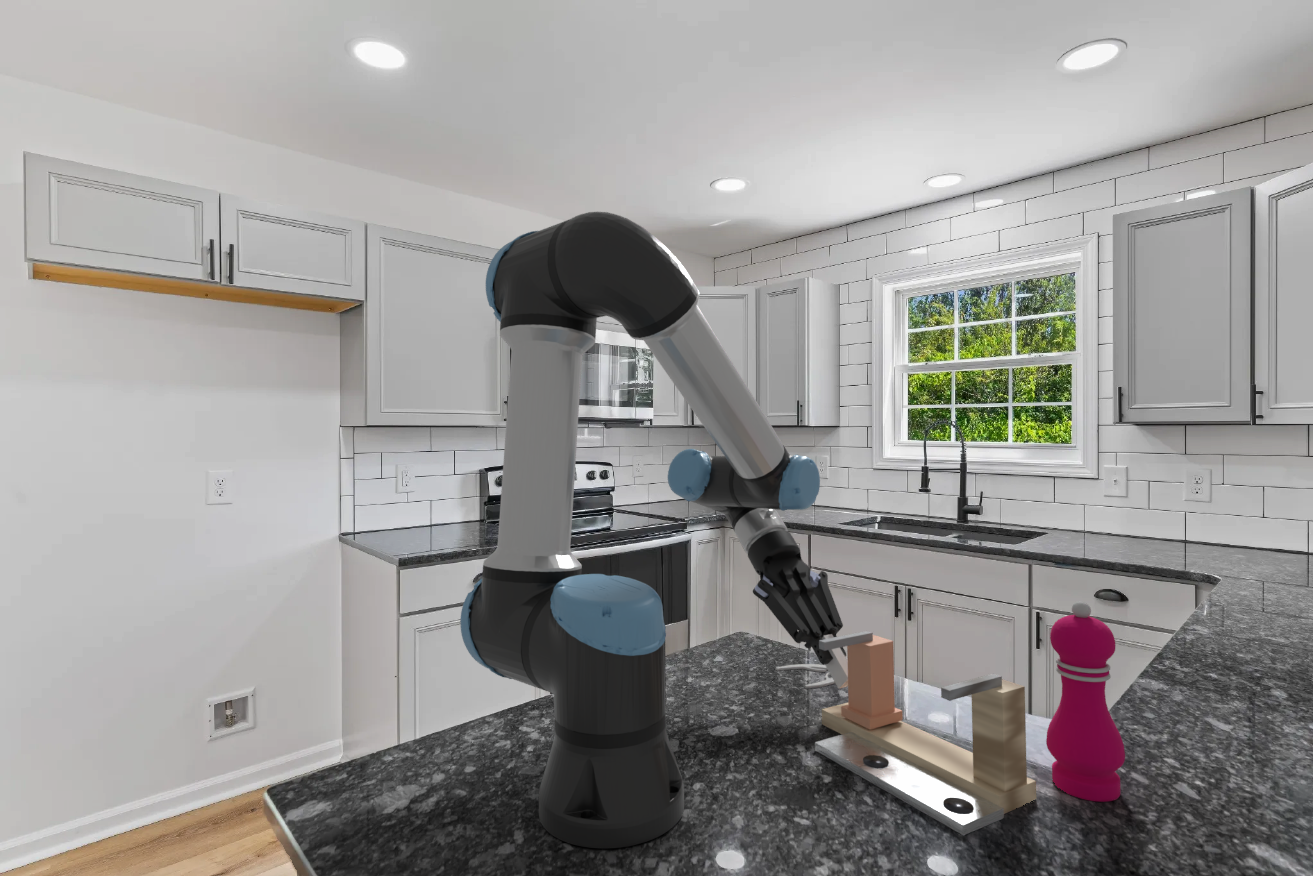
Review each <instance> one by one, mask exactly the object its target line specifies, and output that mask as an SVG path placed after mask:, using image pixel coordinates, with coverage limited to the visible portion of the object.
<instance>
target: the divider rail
mask: <svg viewBox="0 0 1313 876" xmlns="http://www.w3.org/2000/svg"><path fill="white" fill-rule="evenodd" d="M940 691H941V692H940V693H941V694H940V696H941V697H940V698H941V699H944V700H947V701H949V702H950V701H953V700H958V699H961V698H964V697H968V696H971V724H972V725H971V728H972V731H971V732H972V737H971V738H972V751H970V750H967V749H965V748H963V747H961V746H959V745H956V744H954V743H952V742H949V741H947V740H945V739H942V738H941V737H938V736H936V735H933V734H931V733H930V732H929V733H928V732H927V731H924V730H922V729H920V728H917V727H915V726H913V725H911V724H909V723H906V722H904V721H903V720H901V721H898V722H895V723H891V724H888V725H884V726H881V727H877V728H874V729H871V730H870V729H868V728H866V727H864V726H862V725H860V724H857V723H855V722H853V721H851V720H849V719H847V718H845V717H843V716H841V706H845V705H848V702H844V703H842V704H838V705H833V706H830V707H829V706H828V707H825V708H821V725H823V726H825V727H826V728H828V729H830V730H832V731H834V732H836V733H838V734H840V735H842V734H845V733H849V732H853V733H855V734H857V735H859V736H861V737H863V738H865V739H867V740H869V741H871V742H873V743H875V744H877V745H879V746H881V747H883V748H885V749H887V750H889V751H891V752H893V753H895V754H897V755H899V756H901V757H903V758H905V759H907V760H909V761H911V762H913V763H915V764H917V765H919V766H921V767H923V768H925V769H927V770H929V771H931V772H933V773H935V774H937V775H939V776H941V777H943V778H945V779H947V780H949V781H950V782H952V783H954V784H956V785H958V786H960V787H962V788H964V789H966V790H968V791H970V792H972V793H974V794H976V795H978V796H980V797H982V798H984V799H986V800H988V801H990V802H992V803H994V804H996V805H998V806H1000V807H1002V808H1004V815H1005V814H1007V813H1010V812H1011V811H1014V810H1017V809H1019V808H1021V807H1024V806H1025V804H1026V803H1029V804H1031V803H1032V802H1031V801H1033V800H1035V799H1036V800H1037V780H1034V779H1032V778H1030V777H1028V774H1027V773H1028V772H1027V771H1028V769H1027V764H1028V763H1027V736H1026V735H1027V730H1026V725H1027V724H1026V687H1025V685H1021V684H1018V683H1016V682H1012V681H1009V680H1005V679H1004V678H1003V676H1002V675H999V674H995V673H990V674H989V673H988V674H986V675H983V676H980V677H979V676H978V677H975V678H971V679H968V680H964V681H960V682H957V683H952V684H950V685H949V684H948V685H946V686H942V687H940ZM1030 802H1031V803H1030ZM1033 802H1034V801H1033ZM1023 805H1024V806H1023ZM1026 805H1027V804H1026ZM1016 808H1017V809H1016Z"/></svg>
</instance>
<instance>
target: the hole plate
mask: <svg viewBox="0 0 1313 876" xmlns="http://www.w3.org/2000/svg"><path fill="white" fill-rule="evenodd" d="M814 751H815V752H817V753H819V754H821V755H822V756H824V757H826V758H827V759H830V760H831V761H833V762H834V763H836V764H838V765H839V766H841V767H843V768H845V769H846V770H848V771H851V772H852V773H853V774H855V775H858V776H859V777H861V778H862V779H864V780H866V781H867V782H869V783H871V784H873V785H874V786H876V787H877V788H880V789H881V790H883V791H885V792H887V793H888V794H890V795H892V796H894V797H895V798H897V799H899V800H900V801H902V802H904V803H906V804H907V805H909V806H911V807H912V808H914V809H917V810H918V811H920V812H921V813H923V814H925V815H927V816H928V817H930V818H932V819H934V820H935V821H937V822H939V823H941V824H943V825H944V826H946V827H947V828H949V829H952V830H953V831H954V832H956V833H958V834H960V835H961V836H966V835H968V834H970V833H972V832H974V831H977V830H980V829H982V828H984V827H987V826H989V825H991V824H993V823H996V822H999V821H1000V820H1001V821H1002V820H1003V819H1004V818H1005V814H1004V808H1002V807H1000V806H998V805H996V804H994V803H992V802H990V801H988V800H986V799H984V798H982V797H980V796H978V795H976V794H974V793H972V792H970V791H968V790H966V789H964V788H962V787H960V786H958V785H956V784H954V783H952V782H950V781H949V780H947V779H945V778H943V777H941V776H939V775H937V774H935V773H933V772H931V771H929V770H927V769H925V768H923V767H921V766H919V765H917V764H915V763H913V762H911V761H909V760H907V759H905V758H903V757H901V756H899V755H897V754H895V753H893V752H891V751H889V750H887V749H885V748H883V747H881V746H879V745H877V744H875V743H873V742H871V741H869V740H867V739H865V738H863V737H861V736H859V735H857V734H855V733H853V732H849V733H845V734H840V735H834V736H832V737H828V738H824V739H821V740H818V741H815V742H814Z"/></svg>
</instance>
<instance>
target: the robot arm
mask: <svg viewBox="0 0 1313 876" xmlns="http://www.w3.org/2000/svg"><path fill="white" fill-rule="evenodd" d="M485 293H486V299H487V302H488V305H489V307H492V309H493V311H494V312H493V315H494V316H495V318H496V319H497V321H499V322H500V325H499V326H500V328H499V336H500V337H501V338H502V340H503V341H504V342H505V343H506V345H508V346H509V349H510V350H511V352H510V365H509V378H508V379H509V381H508V395H507V396H508V397H507V411H506V423H505V437H504V452H503V463H502V464H503V466H502V480H501V481H502V482H501V490H500V491H501V492H500V493H501V494H500V507H499V519H498V533H497V534H498V535H497V546H496V549H495V550H494V552H492V553H491V554H489V556H487V558H485V559H484V560H483V564H482V573H481V574H482V575H481V576H482V577H481V578H480V579H479V580H478V581H477V582H476V583H474V585H473V589H472V590H471V591H470V592H468V593H467V595H466V597H465V599H464V601H463V604H462V607H461V612H460V623H459V624H460V634H461V637H462V641H463V644H464V647H465V648H466V650H467V652H468V653H469V655H470V656H471V657H472V658H473V660H474V661H475V662H477V663H478V664H479V665H481V666H483V667H484V668H486V669H488V670H489V671H490V672H491V673H494V674H495V675H496V676H499V677H501V678H507V679H509V680H514V681H517V682H519V683H523V684H525V685H529V686H531V687H534V688H537V689H540V690H543V691H545V692H548V693H551V694H553V707H554V708H553V709H554V710H553V713H554V715H553V716H554V737H553V741H552V744H551V749H550V751H549V755H548V758H547V761H546V765H545V769H544V773H543V775H542V780H541V782H540V785H539V790H538V818H539V821H540V824H541V825H542V827H543V828H544V830H546V832H547V833H549V835H552V836H553V837H554V838H556V839H557V840H560V841H562V842H565V843H568V844H571V845H575V846H579V847H582V848H592V849H618V848H626V847H632V846H635V845H640V844H643V843H646V842H649V841H651V840H655V839H656V838H658V837H661V836H662V835H664V834H666V833H667V832H669V831H670V830H671V829H673V828H674V827H675V826H676V825H677V824H678V823H679V821H681V820H680V819H681V818H682V816H683V815H684V811H685V785H684V781H683V777H682V773H681V771H680V768H679V765H678V761H677V760H676V759H677V758H676V756H675V753H674V750H673V747H672V745H671V742H670V738H669V735H668V733H667V724H666V723H667V722H666V721H667V720H666V719H667V718H666V716H667V715H666V709H667V707H666V705H667V703H666V699H667V697H666V693H667V692H666V689H667V688H666V687H667V686H666V685H667V684H666V679H667V678H666V636H667V632H666V624H665V621H664V619H665V618H664V610H663V609H664V607H663V603H662V598H661V597H660V595H659V594H658V593H657V591H656V590H655V589H654V588H653V587H651V586H650V585H648V583H645V582H643V581H640V580H637V579H634V578H631V577H627V576H626V577H625V576H621V575H606V574H603V573H589V574H587V573H585V574H582V569H583V568H582V566H583V564H582V563H580V561H579V560H578V559H577V558H576V556H575V555H574V554H573V553H572V550H571V543H572V542H571V541H572V540H571V539H572V524H573V509H574V508H573V507H574V491H575V479H576V478H575V477H576V476H575V474H576V473H575V472H576V461H577V460H576V459H577V444H578V443H577V442H578V431H579V430H578V428H579V427H578V426H579V425H578V424H579V411H580V409H579V408H580V395H581V382H582V381H581V380H582V362H583V361H582V360H583V356H584V354H586V352H588V351H589V350H590V349H591V348H592V347H594V345H595V344H596V340H597V339H596V336H597V335H596V334H597V321H598V319H599V318H601V317H602V318H603V317H609V318H611V319H614V320H615V321H617V322H618V323H620V324H621V325H622V327H623V328H624V330H625V331H626V333H627V334H628V335H629V337H630V338H631V339H633V340H636V341H638V340H639V341H644V344H645V345H646V346H647V347H648V348H649V350H650V352H651V353H652V354H653V355H654V358H655V359H656V360H657V361H658V363H659V365H660V366H661V367H662V369H663V370H664V372H665V373H666V375H667V376H668V378H669V379H670V380H671V382H672V383H673V385H674V386H675V387H676V389H677V390H678V391H679V393H680V395H681V396H682V397H683V398H684V400H685V401H686V403H687V405H688V406H689V408H690V409H691V410H692V411H693V413H694V414H695V416H696V417H697V418H698V420H699V421H700V423H701V424H702V426H703V427H704V428H705V430H706V431H707V433H708V434H709V436H710V438H712V440H713V442H714V443H715V444H716V445H717V447H718V448H719V450H720V452H721V453H722V454H723V455H710V454H708V453H707V452H705V451H704V450H698V449H695V448H686V449H683V450H682V451H680V452H678V454H676V455H675V456H674V457H673V459H672V460H671V462H670V464H669V467H668V471H667V483H668V487H669V488H670V490H671V491H672V493H674V494H675V495H676V496H678V497H680V498H682V499H684V500H685V501H687V502H692V503H695V504H697V505H699V506H702V507H705V508H708V509H710V510H713V511H716V512H718V513H721V514H723V515H724V516H725V518H726V519H727V520H728V522H729V525H730V526H731V528H732V529H733V532H734V533H735V535H736V537H737V539H738V541H739V543H740V545H741V547H742V549H743V551H744V552H745V553H746V555H747V557H748V560H749V561H750V563H751V566H752V567H753V569H754V571H755V573H756V574H757V575H759V578H760V580H759V581H758V582H757V584H756V585H755V587H754V588H753V590H752V593H753V595H754V596H755V597H757V598H758V599H759V600H760V601H762V603H763V602H764V604H765V605H766V607H767V608H768V610H770V612H771V613H772V615H774V617H775V618H776V619H777V620H778V622H779V623H780V625H782V627H783V628H784V629H785V631H786V632H787V633H788V634H789V636H790V637H791V638H792V639H793V640H794V642H795V643H797V644H802V643H804V645H803V646H804V647H805V649H811V648H812V650H813V652H814V653H815V656H816V657H817V659H818V661H819V663H821V665H826V667H827V669H828V670H827V671H828V672H829V673H830V674H831V675H830V676H831V677H832V678H833V680H834V682H835V683H834V684H835V685H836V687H837V689H843V688H848V661H847V651H846V650H845V648H844V647H840V648H835V649H830V650H826V651H824V650H822V649H819V640H824V639H829V638H834V637H838V636H837V634H838V633H839V631H841V629H842V628H843V627H844V624H843V620H842V618H841V616H840V613H839V610H838V608H837V604H836V602H835V601H834V597H833V595H832V591H831V590H830V587H829V585H828V583H829V582H828V580H829V577H828V576H829V575H828V573H827V572H826V571H824V570H821V571H820V572H819V573H817V572H815V571H812V570H811V568H810V566H809V565H808V564H807V563H806V562H804V560H803V559H802V555H801V549H800V547H799V545H798V543H797V542H796V540H795V538H794V537H793V535H792V533H791V532H789V530H788V527H787V526H786V523H785V522H784V521H783V518H782V517H781V516H780V514H779V512H778V511H779V510H781V511H783V512H784V511H787V510H788V511H789V510H790V511H791V510H792V511H793V510H795V511H799V510H800V511H801V510H802V511H803V510H806V509H807V510H808V508H810V507H812V506H813V504H814V503H815V502H816V500H817V496H818V495H819V492H820V487H821V486H820V485H821V478H820V477H821V476H820V471H819V468H818V465H817V464H816V462H815V461H814V459H812V458H810V457H809V456H805V455H799V454H793V455H791V454H790V453H789V451H788V450H787V449H786V447H785V445H784V444H783V442H782V440H781V439H780V437H779V436H778V434H777V432H776V431H775V429H774V428H773V426H772V424H771V423H770V421H769V419H768V418H767V415H766V414H765V413H764V412H763V410H762V408H761V407H760V405H759V403H758V402H757V400H756V399H755V396H754V395H753V394H752V392H751V391H750V388H749V387H748V385H747V383H746V382H745V381H744V379H743V377H742V375H741V374H740V372H739V371H738V369H737V367H736V366H735V365H734V362H733V361H732V359H731V358H730V356H729V355H728V352H727V351H726V350H725V348H724V346H723V345H722V343H721V341H720V339H719V338H718V337H717V335H716V333H715V332H714V330H713V329H712V327H711V325H710V324H709V322H708V319H706V317H705V315H704V314H703V312H702V311H701V309H700V307H699V305H698V302H699V299H700V291H699V289H698V287H697V285H696V284H695V282H694V280H693V278H692V277H691V275H690V274H689V272H688V271H687V269H686V268H685V267H684V265H683V264H682V262H681V261H680V260H679V259H678V258H677V257H676V256H675V255H674V254H673V252H671V250H670V249H669V248H668V247H667V246H666V245H665V244H664V243H663V242H662V241H660V239H658V238H657V237H656V236H654V235H653V234H652V233H651V232H650V231H648V229H646V228H645V227H644V226H641V225H640V224H638V223H636V222H634V221H632V220H631V219H628V218H627V217H624V216H621V215H618V214H615V213H611V212H607V211H589V212H585V213H581V214H578V215H575V216H573V217H571V218H570V219H567V220H564V221H561V222H559V223H556V224H553V225H550V226H549V227H546V228H545V227H544V228H543V229H540V230H535V231H528V232H525V233H523V234H520V235H519V236H517V237H516V238H514V239H513V240H511V241H509V242H508V243H506V244H505V245H503V246H502V247H501V248H500V249H498V251H497V252H496V253H495V254H494V255H493V257H492V259H491V260H490V263H489V265H488V268H487V271H486V275H485Z"/></svg>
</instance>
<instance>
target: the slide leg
mask: <svg viewBox="0 0 1313 876" xmlns="http://www.w3.org/2000/svg"><path fill="white" fill-rule="evenodd" d="M840 647H843V648H844V647H846V648H847V649H846V650H847V651H846V659H848V686H847V692H848V694H847V695H848V696H847V697H848V698H847V700H848V702H847V703H848V705H845V706H841V716H843V717H845V718H847V719H849V720H851V721H853V722H855V723H857V724H860V725H862V726H864V727H866V728H868V729H870V730H871V729H874V728H877V727H881V726H884V725H888V724H891V723H895V722H898V721H903V720H904V719H903V710H902V709H900V708H897V707H896V706H895V703H896V702H895V699H896V697H895V664H894V662H895V661H894V659H895V657H894V641H893V640H891V639H889V638H885V637H882V636H879V635H875V634H874V633H873V632H871V631H868V630H864V631H860V632H855V633H849V634H845V635H840V636H837V637H834V638H829V639H824V640H819V649H822V650H824V651H826V650H830V649H835V648H840Z"/></svg>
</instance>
